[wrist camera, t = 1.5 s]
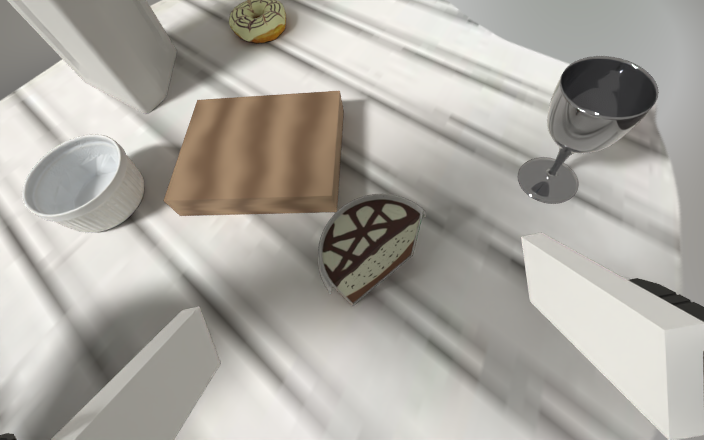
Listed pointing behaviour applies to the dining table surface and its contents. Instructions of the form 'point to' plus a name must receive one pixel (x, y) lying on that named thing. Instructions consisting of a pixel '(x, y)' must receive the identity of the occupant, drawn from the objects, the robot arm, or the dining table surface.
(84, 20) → the white triangular vase
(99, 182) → the ramekin
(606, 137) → the wine glass
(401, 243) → the food container
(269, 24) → the decorated donut
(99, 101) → the dining table surface
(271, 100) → the walnut stand
